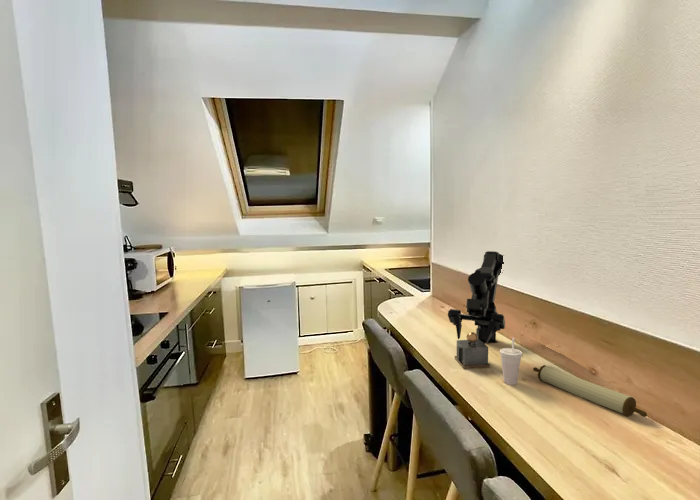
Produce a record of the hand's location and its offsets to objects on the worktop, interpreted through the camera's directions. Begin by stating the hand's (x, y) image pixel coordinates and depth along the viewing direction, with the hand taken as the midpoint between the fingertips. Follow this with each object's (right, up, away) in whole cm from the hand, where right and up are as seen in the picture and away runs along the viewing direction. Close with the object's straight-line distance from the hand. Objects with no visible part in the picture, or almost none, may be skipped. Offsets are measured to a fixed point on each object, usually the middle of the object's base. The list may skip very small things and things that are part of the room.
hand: (472, 340), depth 137 cm
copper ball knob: (0, -7, +1) cm, 7 cm away
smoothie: (+7, -10, -15) cm, 19 cm away
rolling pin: (+24, -11, -24) cm, 35 cm away
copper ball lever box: (0, -8, +1) cm, 8 cm away
